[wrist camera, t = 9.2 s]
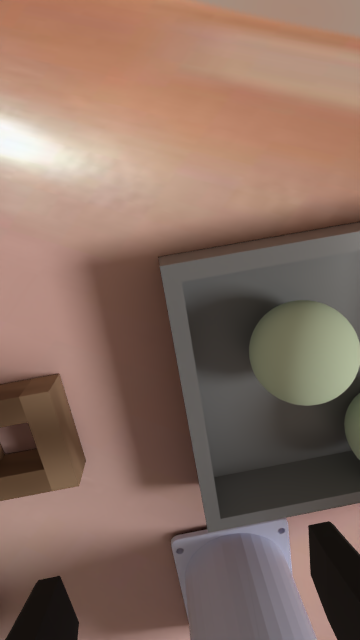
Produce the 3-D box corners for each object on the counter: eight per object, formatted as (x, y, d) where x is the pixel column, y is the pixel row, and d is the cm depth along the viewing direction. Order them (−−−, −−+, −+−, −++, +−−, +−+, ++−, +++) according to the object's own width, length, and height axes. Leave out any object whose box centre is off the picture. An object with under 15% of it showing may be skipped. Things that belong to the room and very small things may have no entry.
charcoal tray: (419, 441, 22) (467, 481, 19) (199, 484, 22) (208, 532, 18) (435, 208, 18) (501, 206, 14) (158, 257, 17) (159, 266, 14)
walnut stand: (85, 460, 20) (79, 485, 18) (-12, 479, 20) (-29, 506, 18) (59, 373, 19) (48, 391, 17) (-49, 393, 18) (-72, 413, 16)
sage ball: (323, 368, 19) (386, 414, 15) (240, 384, 19) (276, 438, 14) (321, 284, 18) (389, 304, 13) (231, 300, 17) (268, 327, 13)
